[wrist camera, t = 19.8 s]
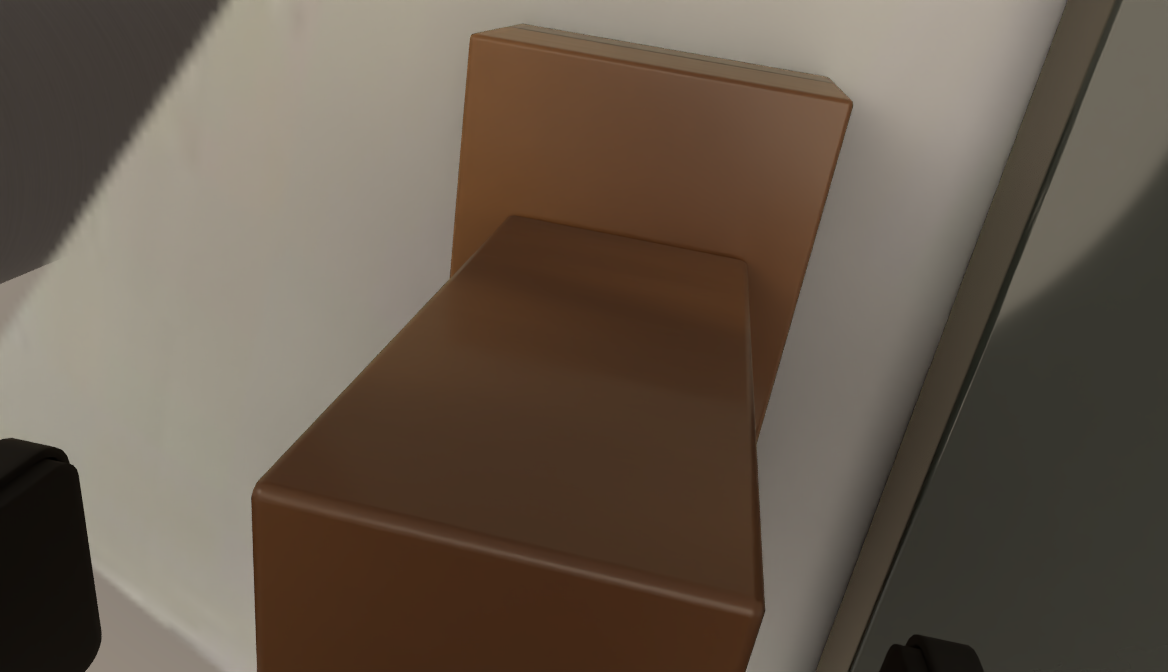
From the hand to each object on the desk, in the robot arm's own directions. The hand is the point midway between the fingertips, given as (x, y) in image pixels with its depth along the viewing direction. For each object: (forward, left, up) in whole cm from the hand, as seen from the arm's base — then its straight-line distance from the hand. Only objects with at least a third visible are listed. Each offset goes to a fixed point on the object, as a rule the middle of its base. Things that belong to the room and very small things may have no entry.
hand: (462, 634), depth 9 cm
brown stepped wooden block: (+1, 0, -5) cm, 5 cm away
